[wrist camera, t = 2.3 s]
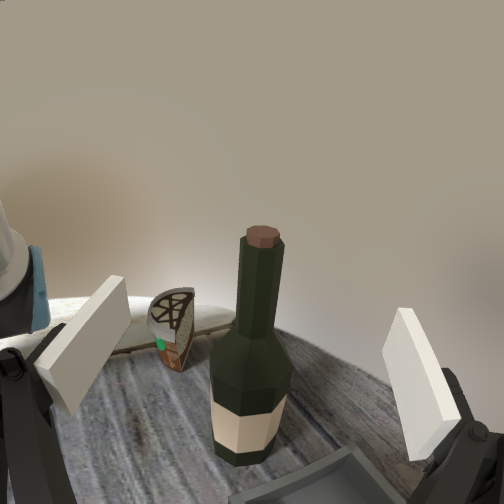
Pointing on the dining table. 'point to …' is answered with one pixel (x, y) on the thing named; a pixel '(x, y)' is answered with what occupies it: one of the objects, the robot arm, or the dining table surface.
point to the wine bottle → (251, 357)
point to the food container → (173, 325)
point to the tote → (327, 483)
